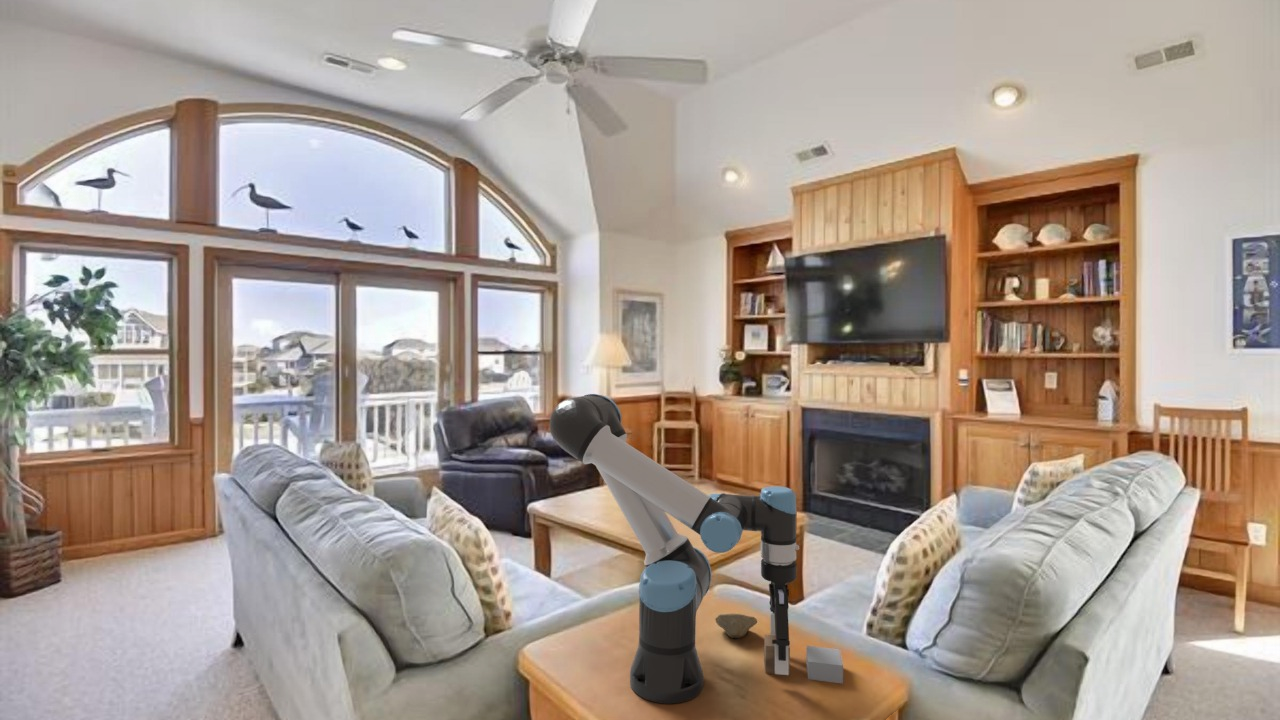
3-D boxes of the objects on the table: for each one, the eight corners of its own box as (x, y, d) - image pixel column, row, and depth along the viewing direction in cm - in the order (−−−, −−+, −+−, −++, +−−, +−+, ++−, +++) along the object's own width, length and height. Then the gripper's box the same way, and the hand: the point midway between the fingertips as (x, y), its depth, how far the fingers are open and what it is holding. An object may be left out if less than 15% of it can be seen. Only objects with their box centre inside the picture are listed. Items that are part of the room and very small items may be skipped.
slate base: (807, 680, 126) (808, 661, 126) (806, 663, 133) (806, 645, 133) (842, 684, 124) (843, 665, 124) (839, 667, 131) (839, 649, 131)
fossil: (762, 615, 143) (723, 609, 141) (764, 634, 140) (724, 628, 138) (746, 627, 149) (709, 621, 147) (748, 645, 146) (710, 639, 144)
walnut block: (765, 673, 128) (765, 645, 128) (764, 661, 133) (764, 634, 133) (789, 675, 127) (789, 647, 127) (787, 663, 132) (787, 636, 132)
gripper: (803, 582, 117) (803, 690, 117) (790, 542, 141) (790, 631, 141) (764, 580, 118) (764, 687, 118) (758, 541, 142) (758, 629, 143)
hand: (778, 657), depth 130 cm, fingers open, 13 cm apart
